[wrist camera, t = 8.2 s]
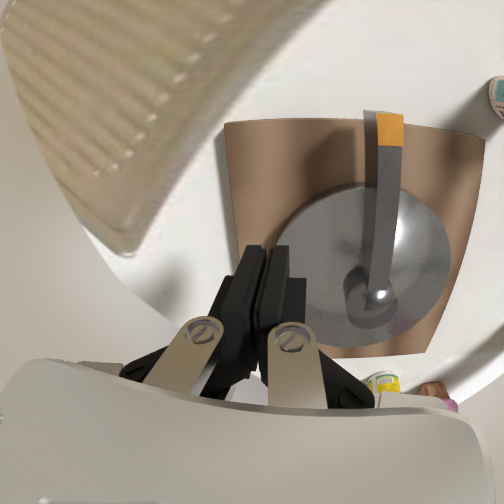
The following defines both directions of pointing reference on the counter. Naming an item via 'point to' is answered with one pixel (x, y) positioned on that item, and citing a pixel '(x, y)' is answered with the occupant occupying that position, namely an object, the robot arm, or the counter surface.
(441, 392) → the cupcake
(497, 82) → the pill bottle
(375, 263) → the dial
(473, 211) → the dial base
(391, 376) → the supplement bottle
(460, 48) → the counter surface
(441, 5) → the counter surface
